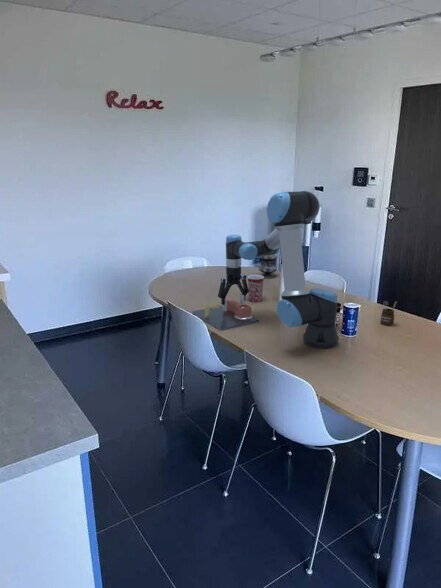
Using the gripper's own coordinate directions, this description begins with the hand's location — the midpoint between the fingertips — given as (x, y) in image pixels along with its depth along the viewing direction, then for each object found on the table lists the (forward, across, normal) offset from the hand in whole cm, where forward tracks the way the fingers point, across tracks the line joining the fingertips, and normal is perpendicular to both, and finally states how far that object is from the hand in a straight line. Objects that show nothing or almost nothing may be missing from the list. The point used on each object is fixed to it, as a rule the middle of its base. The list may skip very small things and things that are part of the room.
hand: (233, 308), depth 233 cm
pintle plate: (+3, +7, +3) cm, 8 cm away
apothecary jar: (+3, -59, -49) cm, 77 cm away
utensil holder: (+3, -54, +52) cm, 75 cm away
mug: (+3, -24, -13) cm, 27 cm away
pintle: (+1, 0, +9) cm, 9 cm away
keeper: (+3, +14, +2) cm, 15 cm away
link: (+1, 0, +2) cm, 3 cm away
